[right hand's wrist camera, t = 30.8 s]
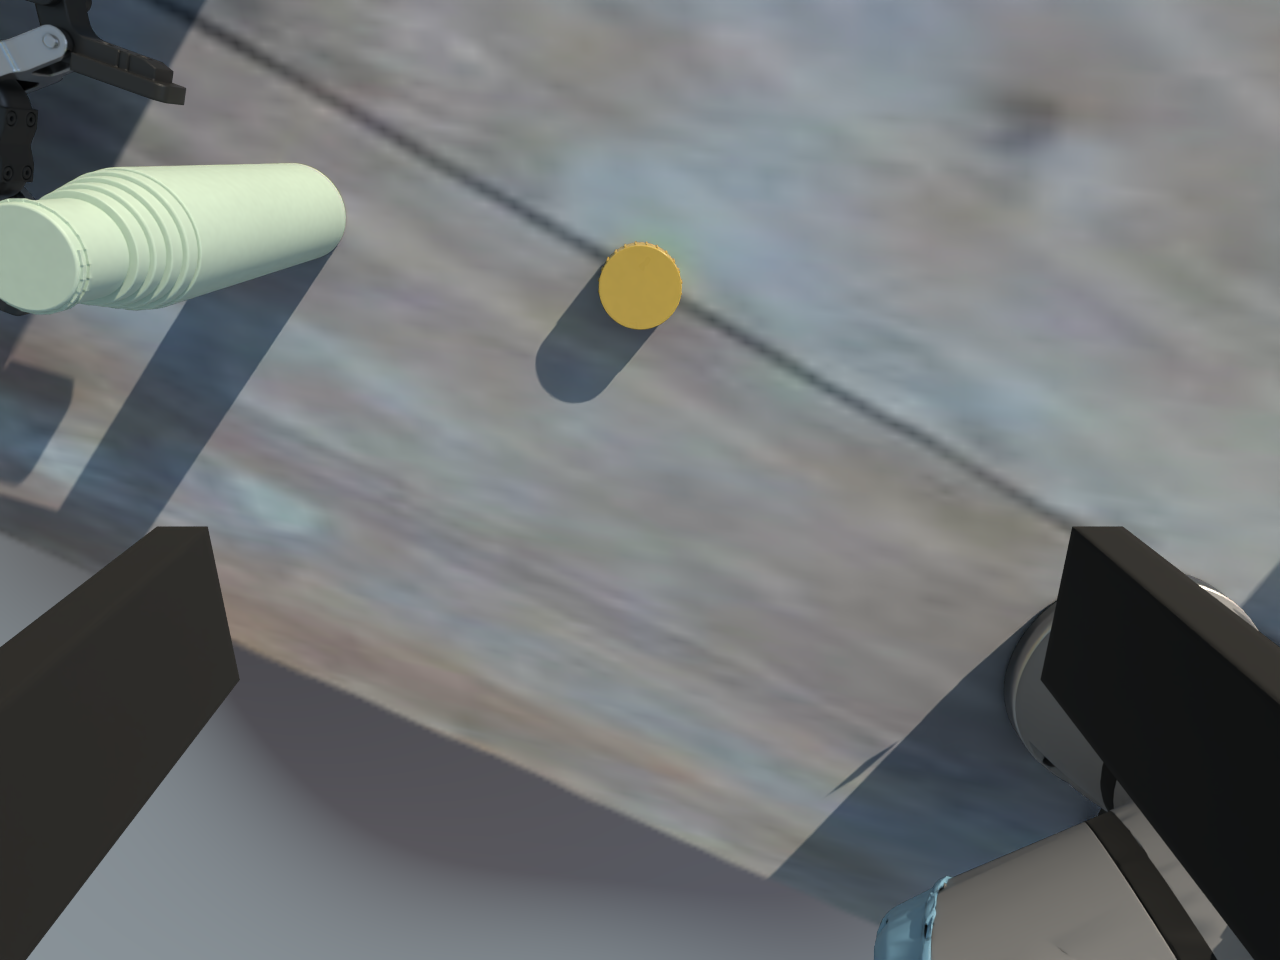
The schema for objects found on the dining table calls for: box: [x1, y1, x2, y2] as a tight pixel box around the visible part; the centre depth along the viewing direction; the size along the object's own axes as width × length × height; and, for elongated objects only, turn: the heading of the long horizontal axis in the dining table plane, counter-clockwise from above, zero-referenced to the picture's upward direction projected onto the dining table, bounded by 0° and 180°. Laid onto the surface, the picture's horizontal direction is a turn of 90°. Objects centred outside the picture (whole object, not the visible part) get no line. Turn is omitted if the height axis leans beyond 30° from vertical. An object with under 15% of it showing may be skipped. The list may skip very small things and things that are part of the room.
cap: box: [598, 242, 682, 330], centre depth 44 cm, size 4×4×2 cm
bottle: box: [0, 163, 346, 314], centre depth 33 cm, size 5×5×21 cm
